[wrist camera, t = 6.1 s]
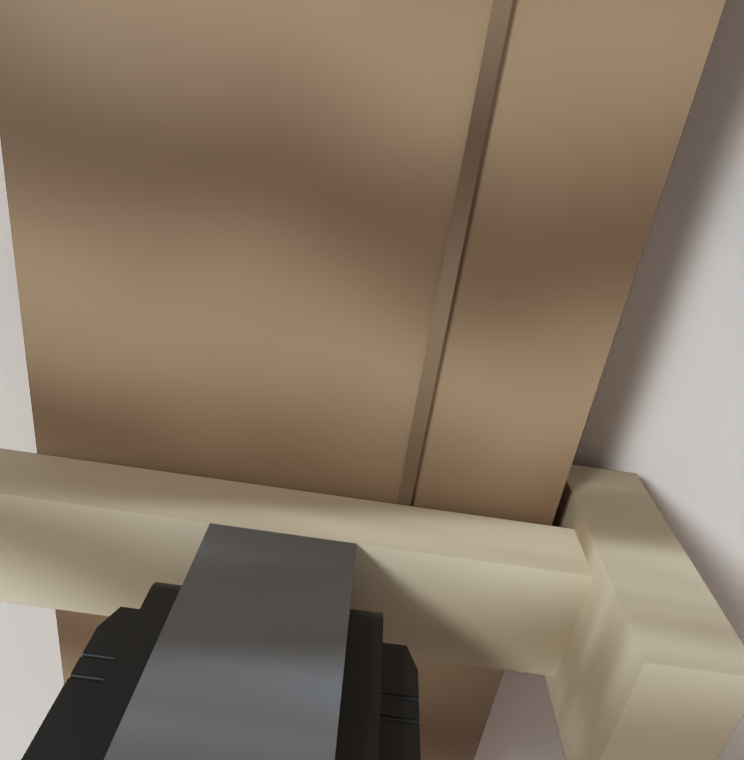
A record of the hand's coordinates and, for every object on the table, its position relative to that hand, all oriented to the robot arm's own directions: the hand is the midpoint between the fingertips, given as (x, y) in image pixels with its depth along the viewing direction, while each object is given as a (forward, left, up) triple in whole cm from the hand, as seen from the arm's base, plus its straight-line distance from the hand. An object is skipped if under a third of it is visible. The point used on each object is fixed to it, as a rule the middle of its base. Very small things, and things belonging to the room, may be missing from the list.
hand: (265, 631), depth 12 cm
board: (-2, 0, -5) cm, 5 cm away
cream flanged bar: (0, 0, -5) cm, 5 cm away
